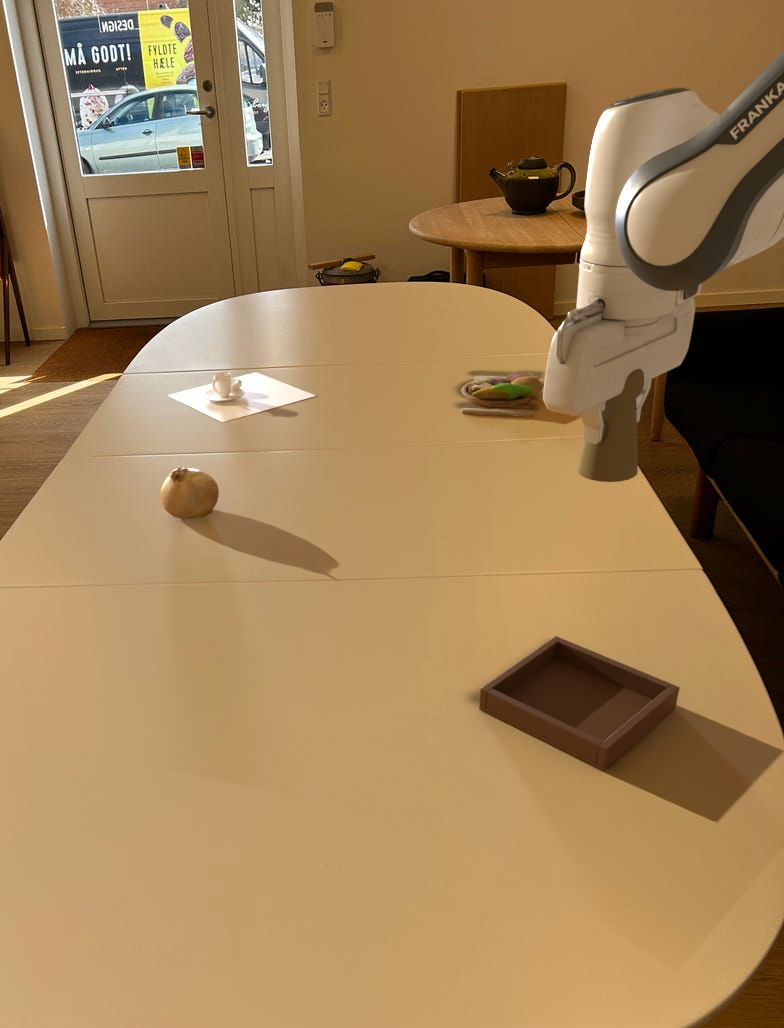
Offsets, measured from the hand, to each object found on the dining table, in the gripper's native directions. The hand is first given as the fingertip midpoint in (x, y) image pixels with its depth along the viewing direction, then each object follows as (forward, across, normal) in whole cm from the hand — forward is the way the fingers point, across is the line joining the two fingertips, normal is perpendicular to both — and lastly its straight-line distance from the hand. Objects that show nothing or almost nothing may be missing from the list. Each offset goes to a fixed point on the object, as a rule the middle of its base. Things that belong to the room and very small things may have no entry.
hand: (611, 432), depth 97 cm
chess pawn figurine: (+4, 0, 0) cm, 4 cm away
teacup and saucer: (+20, +23, +89) cm, 94 cm away
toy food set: (+21, +51, +52) cm, 76 cm away
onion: (+20, -15, +55) cm, 60 cm away
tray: (+20, -17, -9) cm, 28 cm away
